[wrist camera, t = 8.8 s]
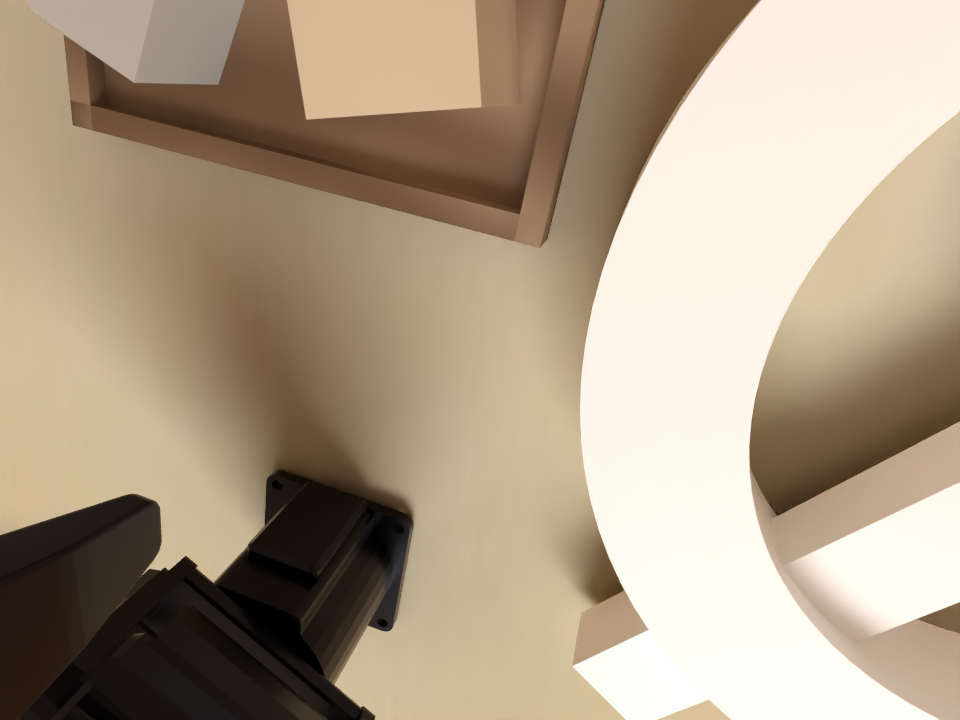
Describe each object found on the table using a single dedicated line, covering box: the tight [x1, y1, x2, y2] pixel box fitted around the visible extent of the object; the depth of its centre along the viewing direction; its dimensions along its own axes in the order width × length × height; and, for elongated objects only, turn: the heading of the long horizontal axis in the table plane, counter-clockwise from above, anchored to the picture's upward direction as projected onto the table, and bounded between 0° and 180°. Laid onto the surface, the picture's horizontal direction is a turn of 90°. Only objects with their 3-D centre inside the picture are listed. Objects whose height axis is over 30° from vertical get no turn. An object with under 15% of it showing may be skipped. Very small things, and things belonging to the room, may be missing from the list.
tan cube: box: [287, 0, 520, 120], centre depth 15 cm, size 4×4×4 cm
